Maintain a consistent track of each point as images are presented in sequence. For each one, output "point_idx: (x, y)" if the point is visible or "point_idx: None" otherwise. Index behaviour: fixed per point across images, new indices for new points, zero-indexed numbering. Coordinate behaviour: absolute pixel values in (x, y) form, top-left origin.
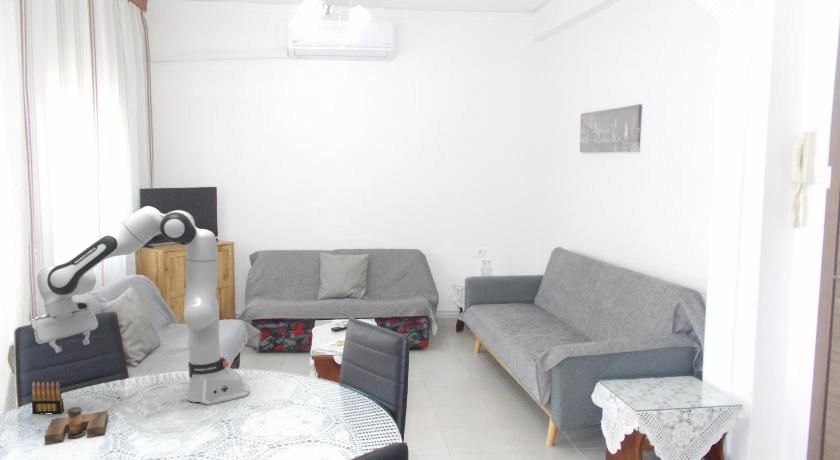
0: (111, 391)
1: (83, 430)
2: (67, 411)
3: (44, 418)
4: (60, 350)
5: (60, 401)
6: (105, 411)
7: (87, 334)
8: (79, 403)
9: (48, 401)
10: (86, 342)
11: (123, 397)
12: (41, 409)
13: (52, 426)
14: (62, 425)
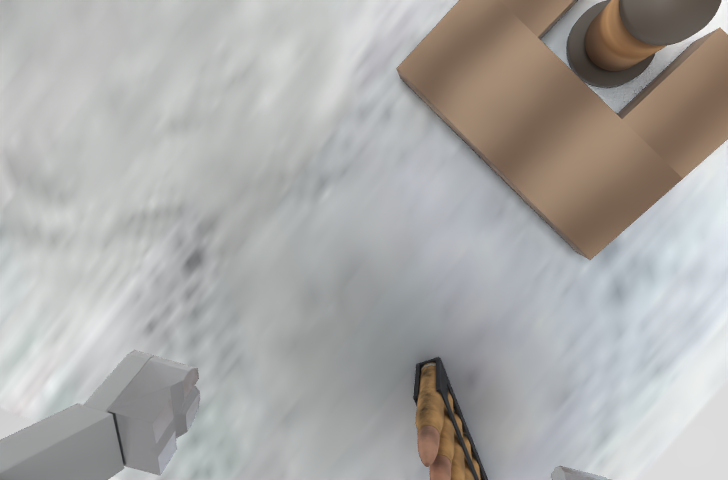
0: None
1: (572, 41)
2: (718, 7)
3: (505, 391)
4: (588, 477)
5: (433, 387)
6: (407, 69)
7: (15, 471)
8: (314, 385)
9: (462, 445)
10: (166, 370)
11: (184, 241)
12: (472, 462)
13: (664, 167)
14: (635, 125)
